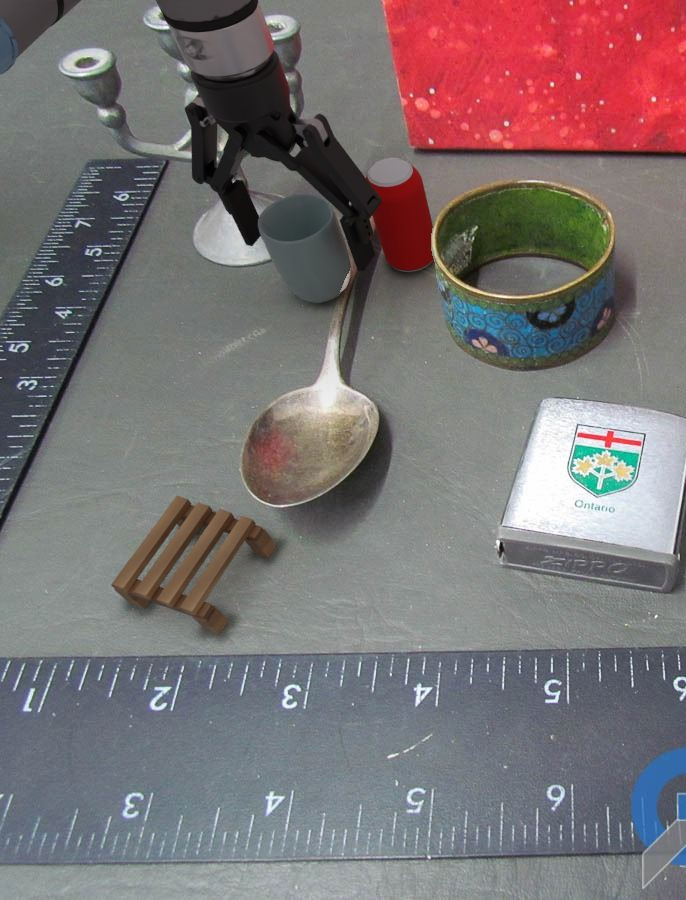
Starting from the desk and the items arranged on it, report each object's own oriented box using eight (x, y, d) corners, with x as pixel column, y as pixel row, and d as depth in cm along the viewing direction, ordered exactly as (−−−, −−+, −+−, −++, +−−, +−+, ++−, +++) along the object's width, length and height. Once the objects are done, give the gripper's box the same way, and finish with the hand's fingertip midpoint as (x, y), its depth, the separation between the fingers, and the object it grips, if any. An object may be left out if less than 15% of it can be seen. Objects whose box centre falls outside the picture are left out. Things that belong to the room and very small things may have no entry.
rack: (130, 604, 71) (104, 582, 67) (192, 518, 76) (170, 493, 72) (220, 635, 69) (198, 613, 66) (276, 545, 74) (259, 520, 70)
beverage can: (381, 276, 94) (353, 188, 84) (392, 239, 97) (367, 151, 88) (434, 277, 94) (412, 189, 84) (443, 241, 97) (424, 152, 87)
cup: (274, 291, 93) (241, 220, 85) (329, 255, 96) (302, 183, 88) (317, 323, 90) (287, 253, 82) (372, 285, 93) (349, 213, 85)
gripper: (85, 60, 71) (191, 249, 89) (338, 106, 66) (398, 297, 84) (139, 17, 75) (230, 206, 93) (381, 58, 70) (430, 249, 88)
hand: (310, 250), depth 88 cm, fingers open, 13 cm apart
